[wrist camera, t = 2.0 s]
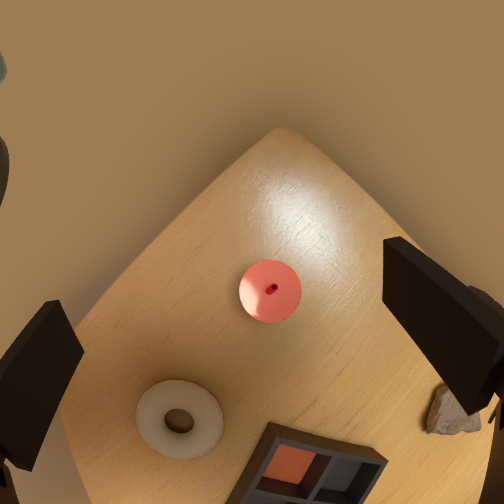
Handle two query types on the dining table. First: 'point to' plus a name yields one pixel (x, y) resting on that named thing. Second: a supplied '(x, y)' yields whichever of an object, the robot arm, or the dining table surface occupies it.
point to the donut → (184, 398)
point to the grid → (307, 470)
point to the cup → (270, 291)
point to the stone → (450, 415)
